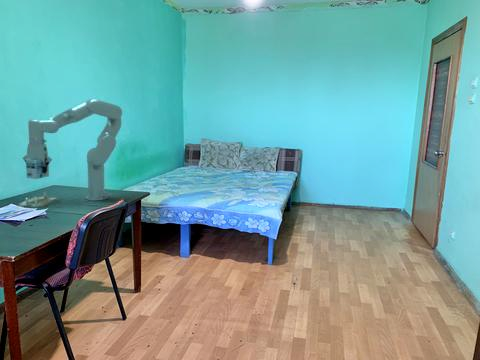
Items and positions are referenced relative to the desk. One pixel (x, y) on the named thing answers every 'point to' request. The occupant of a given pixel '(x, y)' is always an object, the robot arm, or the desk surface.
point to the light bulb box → (35, 169)
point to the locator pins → (35, 199)
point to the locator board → (41, 202)
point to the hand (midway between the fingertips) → (37, 172)
